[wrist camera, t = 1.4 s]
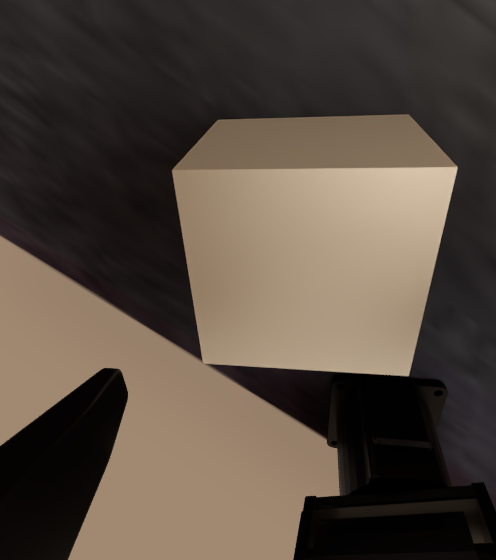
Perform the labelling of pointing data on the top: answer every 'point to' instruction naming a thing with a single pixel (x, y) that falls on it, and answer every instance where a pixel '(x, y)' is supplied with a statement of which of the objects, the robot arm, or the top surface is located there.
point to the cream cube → (313, 240)
